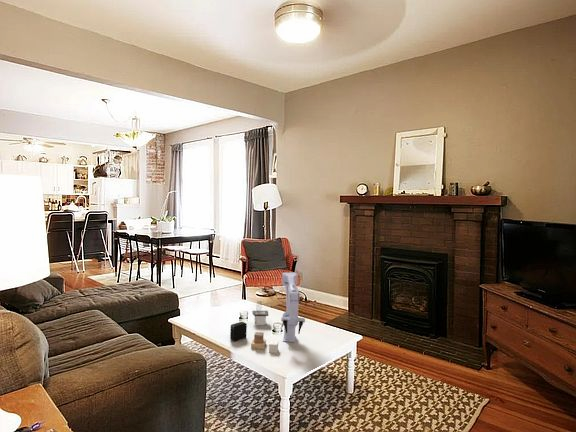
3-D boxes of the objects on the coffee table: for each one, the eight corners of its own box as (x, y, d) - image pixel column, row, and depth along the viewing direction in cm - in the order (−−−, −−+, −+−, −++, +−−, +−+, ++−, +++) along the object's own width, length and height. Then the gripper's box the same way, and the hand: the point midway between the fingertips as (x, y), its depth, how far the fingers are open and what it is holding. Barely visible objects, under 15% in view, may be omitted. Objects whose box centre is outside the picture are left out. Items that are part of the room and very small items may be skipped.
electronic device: (246, 337, 239) (246, 323, 238) (234, 341, 232) (234, 326, 231) (242, 336, 242) (242, 321, 241) (230, 339, 235) (230, 324, 234)
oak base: (253, 343, 231) (253, 338, 230) (266, 344, 230) (266, 339, 230) (251, 348, 223) (251, 343, 223) (263, 349, 222) (264, 344, 222)
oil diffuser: (275, 318, 280) (276, 296, 279) (279, 330, 256) (279, 306, 255) (242, 318, 277) (243, 296, 276) (242, 330, 253) (243, 306, 252)
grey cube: (269, 348, 223) (270, 340, 223) (278, 349, 223) (278, 341, 222) (268, 352, 218) (269, 344, 218) (277, 352, 218) (277, 344, 217)
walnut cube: (255, 339, 229) (255, 331, 228) (263, 340, 228) (263, 332, 228) (254, 342, 224) (254, 334, 223) (262, 343, 223) (262, 335, 223)
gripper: (281, 312, 220) (280, 334, 220) (305, 314, 218) (304, 336, 219) (282, 308, 227) (281, 330, 227) (305, 310, 225) (304, 331, 226)
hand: (292, 332), depth 224 cm, fingers open, 7 cm apart
